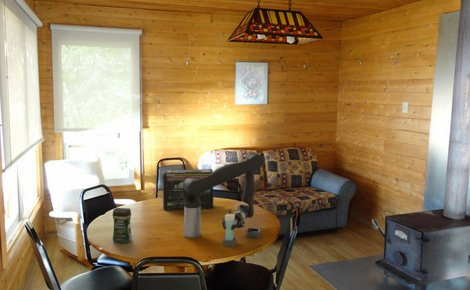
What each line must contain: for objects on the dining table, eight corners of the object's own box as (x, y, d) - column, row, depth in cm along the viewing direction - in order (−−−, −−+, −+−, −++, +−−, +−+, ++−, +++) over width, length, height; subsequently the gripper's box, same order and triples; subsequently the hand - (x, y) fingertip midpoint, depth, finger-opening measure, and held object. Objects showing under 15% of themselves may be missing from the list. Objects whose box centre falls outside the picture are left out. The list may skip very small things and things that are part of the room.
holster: (222, 245, 225) (222, 240, 224) (224, 241, 231) (224, 236, 230) (234, 246, 224) (234, 241, 223) (236, 242, 230) (236, 237, 230)
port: (247, 237, 238) (247, 231, 237) (248, 233, 244) (248, 227, 244) (259, 238, 237) (259, 232, 236) (260, 234, 244) (260, 228, 243)
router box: (212, 204, 305) (212, 168, 301) (213, 209, 294) (214, 171, 290) (162, 206, 299) (162, 169, 295) (162, 210, 288) (162, 172, 284)
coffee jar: (110, 242, 227) (110, 209, 224) (117, 237, 234) (116, 205, 232) (127, 244, 225) (127, 210, 223) (133, 239, 233) (132, 206, 231)
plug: (224, 244, 226) (225, 209, 223) (227, 242, 230) (227, 207, 227) (232, 245, 225) (232, 210, 222) (234, 243, 229) (234, 208, 226)
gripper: (225, 211, 241) (215, 219, 225) (249, 213, 237) (240, 222, 221) (225, 223, 242) (215, 233, 226) (249, 226, 238) (240, 236, 222)
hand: (228, 227), depth 223 cm, fingers closed on plug, 3 cm apart
